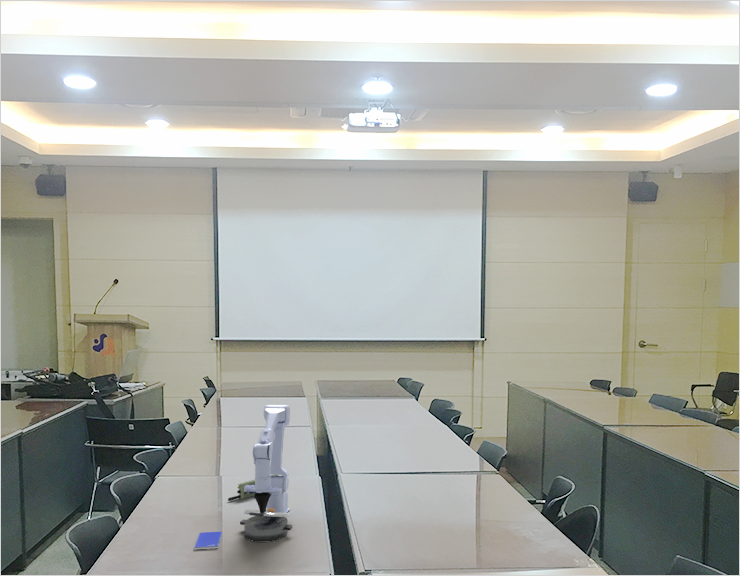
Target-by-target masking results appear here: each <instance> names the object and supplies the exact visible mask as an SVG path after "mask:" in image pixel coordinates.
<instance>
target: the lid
mask: <svg viewBox="0 0 740 576" xmlns="http://www.w3.org/2000/svg"><path fill="white" fill-rule="evenodd" d="M243 514H246V515H249V516H267V517H285V518H287V517H290V513H288V512H287V513H285V512H278V511H275V509H274V508H268V510H267V509H266V511H265V512H264V513H260V509H244V510H243Z"/></svg>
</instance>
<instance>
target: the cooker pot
mask: <svg viewBox="0 0 740 576" xmlns="http://www.w3.org/2000/svg"><path fill="white" fill-rule="evenodd" d="M239 524H240V525H241V526H244V534H245V535H244V537H245V539H247V538H248V539H250V540H249V541H251V540H253V541H252V542H255V541H271V542H273V541H272V540H275V541H278V540H280V539H279V538H281V537H283V536H284V537H286V536H287V534H288V531H291V530H292V529H293V524H292V525H291V524H288V519H287V517H267V516H254V515H252V516H251V517H249V518H247V519H241V520H240V522H239ZM284 537H283V538H284ZM248 539H247V540H248ZM277 539H278V540H277ZM281 539H282V538H281Z"/></svg>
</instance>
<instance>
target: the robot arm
mask: <svg viewBox="0 0 740 576" xmlns="http://www.w3.org/2000/svg"><path fill="white" fill-rule="evenodd" d="M290 409H291V408H290V406H289V404H265V406H264V407H263V418H264V421H265V427H264V429H262V430H261V431H260V434H259V437H258V440H257V442H256V444H254V445H253V447H252V448H253V449H252V458H253V464H254V480H255V485H246V486H244V492H247V491H250V492H255V495H254V496H253V498H254V499H255V501H256V503H257V505H258V510H260V513H264V512H265V511H266V510H268V508H274V509H275V511H278V512H285V513H288V512H289V511H290V510H291V508H290V507H288V505H289V503H288V502H289V498H288V497H289V495H288V492H287V491H288V488H289V481H290V480H289V473H288V471H287V470H286V469H285V468H284V467H283V453H284V438H285V437H284V436H285V429H286V427H287V426H289V424H290V419H291V418H290V417H291V410H290ZM271 475H278V476H271Z"/></svg>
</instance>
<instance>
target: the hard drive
mask: <svg viewBox="0 0 740 576" xmlns="http://www.w3.org/2000/svg"><path fill="white" fill-rule="evenodd" d="M222 535H223V532H222V531H207V532H206V531H205V532H200V533H199V534H198V537H197V539H196V542H195V545H194V547H193V550H194V551H197V550H196V549H207V550H211V549H210V548H213V549H212V550H215V549H214V548H218V549H219V546H218V545H220V543H219V542H221V539H220V538H222Z"/></svg>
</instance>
